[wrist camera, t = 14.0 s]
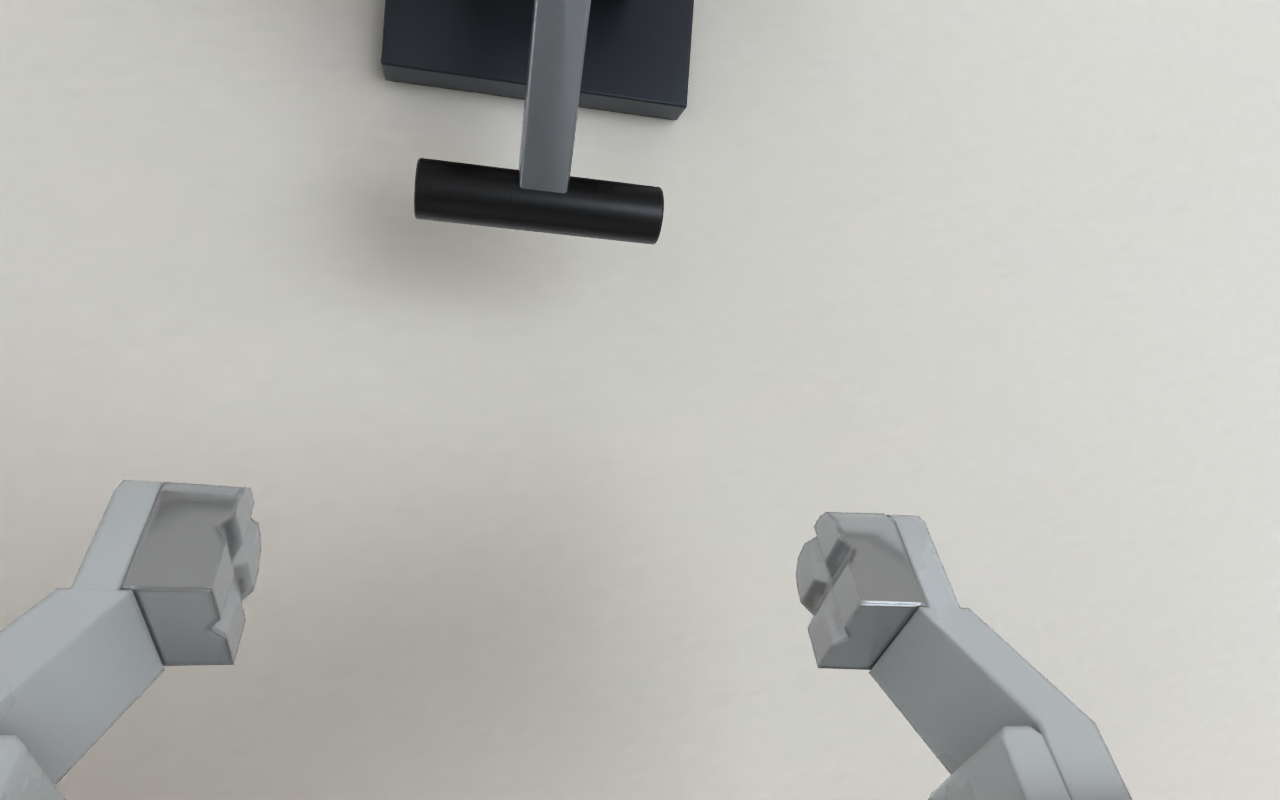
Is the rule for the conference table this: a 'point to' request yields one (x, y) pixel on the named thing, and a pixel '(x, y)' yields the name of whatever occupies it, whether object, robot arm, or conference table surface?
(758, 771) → the conference table surface
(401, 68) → the lever bracket
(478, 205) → the lever
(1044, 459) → the conference table surface
